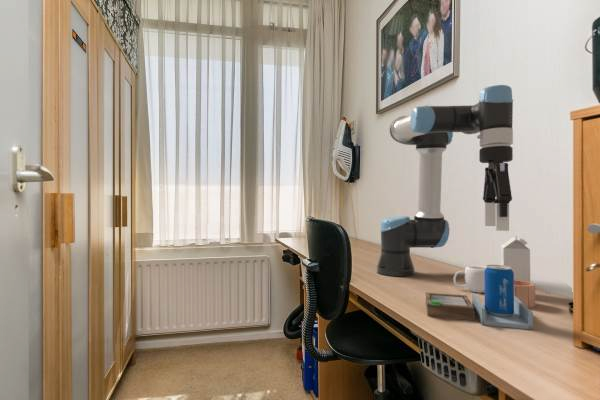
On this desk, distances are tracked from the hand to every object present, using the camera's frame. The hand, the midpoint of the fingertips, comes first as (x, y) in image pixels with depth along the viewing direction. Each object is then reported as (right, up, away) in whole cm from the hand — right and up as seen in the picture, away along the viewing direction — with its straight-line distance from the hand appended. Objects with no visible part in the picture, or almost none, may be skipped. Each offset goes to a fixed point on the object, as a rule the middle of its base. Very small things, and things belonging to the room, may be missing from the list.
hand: (495, 228), depth 89 cm
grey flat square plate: (-11, -21, +4) cm, 24 cm away
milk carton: (+18, -23, +20) cm, 35 cm away
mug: (+6, -23, +24) cm, 34 cm away
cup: (+12, -23, +10) cm, 28 cm away
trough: (0, -23, -2) cm, 23 cm away
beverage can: (0, -22, -2) cm, 22 cm away
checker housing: (-11, -23, +4) cm, 26 cm away
